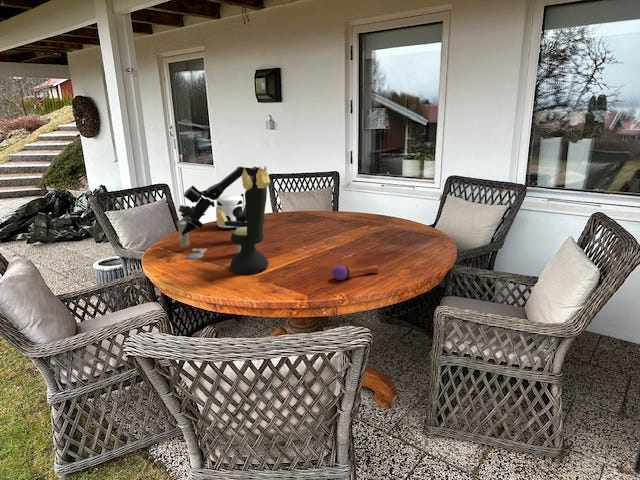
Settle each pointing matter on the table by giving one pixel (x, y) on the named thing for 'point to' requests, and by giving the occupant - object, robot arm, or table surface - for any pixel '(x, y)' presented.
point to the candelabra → (249, 225)
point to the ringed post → (183, 238)
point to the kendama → (351, 271)
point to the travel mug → (242, 219)
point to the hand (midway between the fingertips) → (180, 233)
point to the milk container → (230, 208)
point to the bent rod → (200, 250)
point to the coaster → (195, 256)
